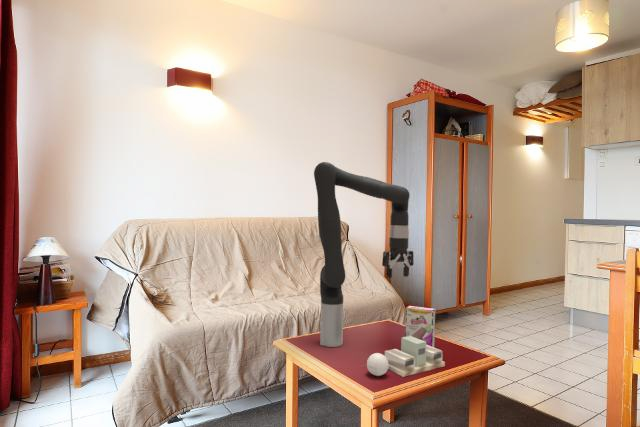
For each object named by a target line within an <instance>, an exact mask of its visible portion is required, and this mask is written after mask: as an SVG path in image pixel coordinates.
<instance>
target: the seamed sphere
mask: <svg viewBox="0 0 640 427" xmlns="http://www.w3.org/2000/svg"><path fill="white" fill-rule="evenodd" d="M360 366H363V365H360ZM366 368H367V370H368V372H369V373H370V374H372V375H373V376H376V377H380V376H383V375H384V374H386V373H387V371H388V370H389V369H388V361H387V359H386V357H385V354H382V353H379V352H375V353H372V354H371V355H369V356H368V358H367V361H366Z"/></svg>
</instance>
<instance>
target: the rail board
mask: <svg viewBox="0 0 640 427" xmlns="http://www.w3.org/2000/svg"><path fill="white" fill-rule="evenodd" d="M384 356H385V357H386V359H387V361H388V370H389V371H391V372H392V373H394V374H396V375H399V376H401V377H402V378H404V377H405V378H406V377H407V376H412V375H416V374H419V373H424V372H427V371H432V370H436V369H439V368H443V367H445V366H446V362H445V361H443V350H441V349H439V348H436V347H435V346H434V347H431V346H429V345H426V365H422V366H418V367H416V366H415V357H413V356H411V355H409V354H406V353H404V352H402V351H401V350H399V349H397V348H393V349H388V350H384Z"/></svg>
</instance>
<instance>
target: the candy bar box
mask: <svg viewBox="0 0 640 427" xmlns="http://www.w3.org/2000/svg"><path fill="white" fill-rule="evenodd" d="M435 329H436V308H429V307H423V306H422V307H421V306H417V305H416V306H415V305H408V306H407V307H406V308H405V331H404V332H405V334H404V335H405V336H404V337H407V336H412V337H415V338H417V339H420V340H423V341H425V342H426V345H429V346H431V347H434V348H435V338H436V334H435V332H436V330H435Z"/></svg>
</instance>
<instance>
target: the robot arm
mask: <svg viewBox="0 0 640 427" xmlns="http://www.w3.org/2000/svg"><path fill="white" fill-rule="evenodd" d="M313 178H314V182H315V188H316V189H315V190H316V196H317V224H318V233H319V235H318V236H319V239H320V242H321V247H322V250H323V255H324V265H323V267H321V270H320V274H319V293H320V294H319V295H320V324H319V327H320V328H319V330H320V331H319V334H320V335H319V336H320V338H319V342H320V343H319V346H322V347H323V346H324V347H329V348H334V347H335V348H336V347H341V346H343V343H344V341H343V340H344V338H343V337H344V336H343V332H344V295H343V291H342V286H343V284H344V282H345V280H346V271H345V265H344V260H343V251H342V250H343V249H342V248H343V246H342V244H343V243H342V223H341V214H340V209H339V205H338V201H337V197H336V186H337V187H343V188H347V189H350V190H353V191H355V192H358V193H361V194H363V195H366V196H370V197H372V198H376V199H383V200H385V201H387V202H391V215H390V227H389V239H388V240H389V242H388V244H389V245H388V248H389V251H386V250H384V251H383V252H382V262H381V265H382V267H385V269H386V272H385V275H386V277H387V278H389V279H392V278H393V266H394V265H395V264H397V263H402V265H403V266H404V267H403V273H402V274H403V275H402V276H403V277H405V278H406V277H407V278H408V277H409V276H410V268H411V267H412V266H414V251H413V250H408V249H409V234H410V232H409V230H410V229H409V212H408V211H409V200H410V197H411V196H410V192H409V190H408V189H407V188H406V187H404V186H400V185H398V184H393V183H392V184H391V183H387V182H385V181H382V180H380V179H379V180H378V179H376V178H372V177H368V176H363V175H358V174H355V173H351V172H348V171H346V170H343V169H340V168H339V167H337V166H336V165H334V164H332V163H330V162H328V161H322V162H319V163H318V164H317V165H316V166H315V168H314V170H313Z"/></svg>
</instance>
